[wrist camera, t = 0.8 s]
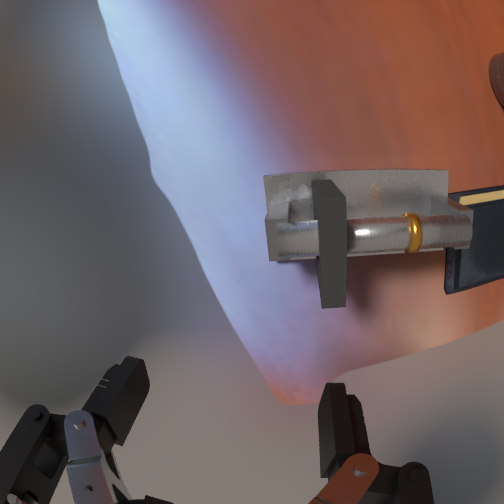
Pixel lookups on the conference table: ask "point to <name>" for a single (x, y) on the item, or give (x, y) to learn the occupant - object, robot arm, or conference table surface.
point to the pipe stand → (367, 212)
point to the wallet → (478, 242)
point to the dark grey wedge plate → (331, 242)
